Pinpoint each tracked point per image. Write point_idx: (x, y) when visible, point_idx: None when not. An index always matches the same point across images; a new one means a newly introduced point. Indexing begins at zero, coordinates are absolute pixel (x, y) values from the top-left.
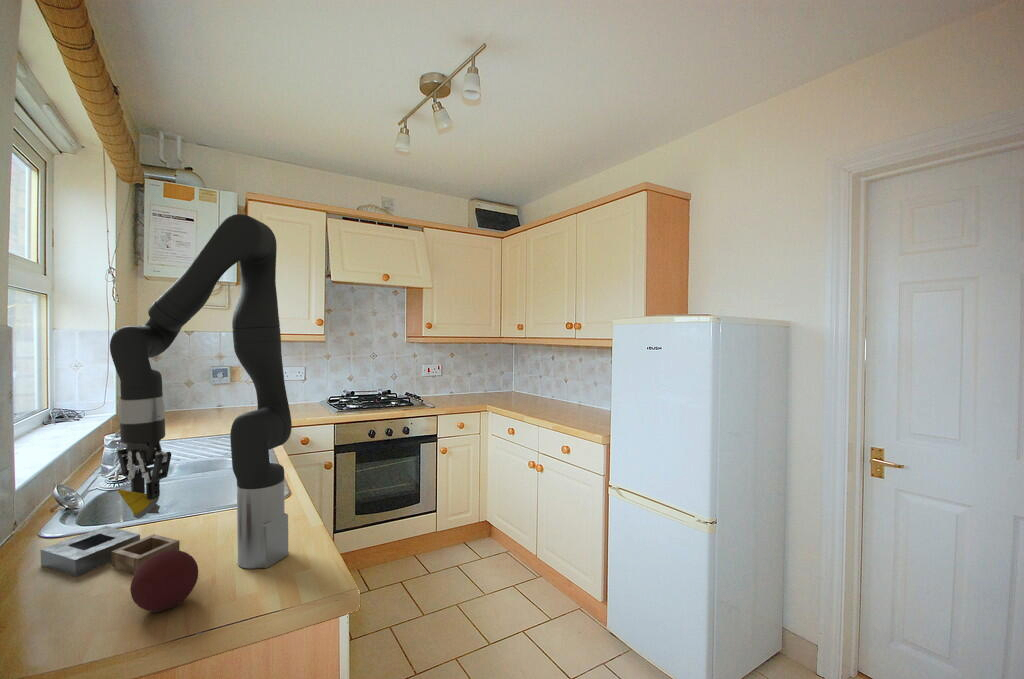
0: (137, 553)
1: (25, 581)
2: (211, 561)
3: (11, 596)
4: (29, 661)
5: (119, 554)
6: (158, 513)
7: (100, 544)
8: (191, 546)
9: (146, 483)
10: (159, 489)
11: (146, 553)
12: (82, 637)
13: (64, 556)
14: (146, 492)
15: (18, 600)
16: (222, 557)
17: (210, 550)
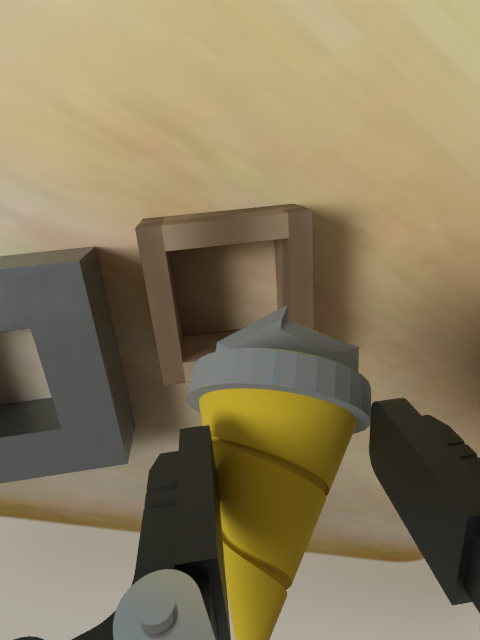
0: (175, 296)
1: (39, 495)
2: (440, 172)
3: (111, 525)
4: None
5: None
6: (287, 311)
7: (52, 383)
8: (256, 128)
9: (454, 597)
10: (468, 449)
11: None
12: None
13: (61, 473)
14: (398, 512)
15: None
16: (456, 131)
17: (363, 114)
